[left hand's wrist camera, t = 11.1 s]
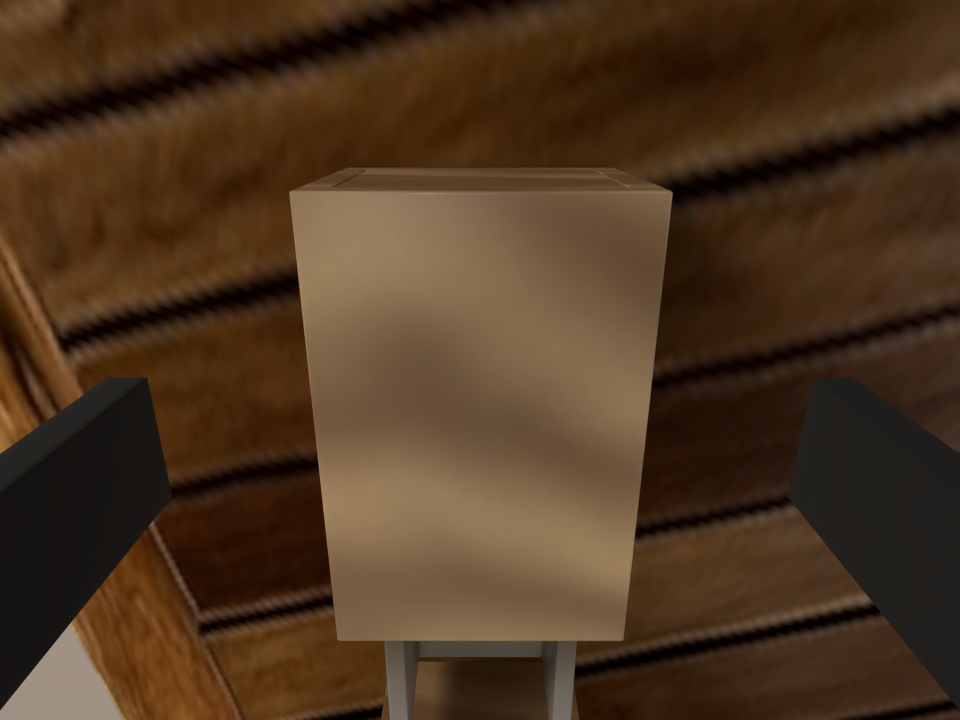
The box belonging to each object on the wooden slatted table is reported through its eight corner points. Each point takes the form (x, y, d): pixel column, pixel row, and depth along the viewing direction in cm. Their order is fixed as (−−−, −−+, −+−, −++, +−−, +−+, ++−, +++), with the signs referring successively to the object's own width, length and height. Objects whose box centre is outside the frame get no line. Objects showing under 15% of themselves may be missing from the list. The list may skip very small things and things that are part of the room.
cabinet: (588, 512, 31) (623, 641, 24) (372, 512, 31) (337, 641, 24) (615, 167, 25) (673, 191, 18) (346, 167, 25) (288, 190, 18)
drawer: (563, 746, 36) (580, 868, 30) (396, 747, 36) (380, 868, 30) (586, 427, 28) (613, 508, 23) (374, 427, 28) (347, 508, 23)
